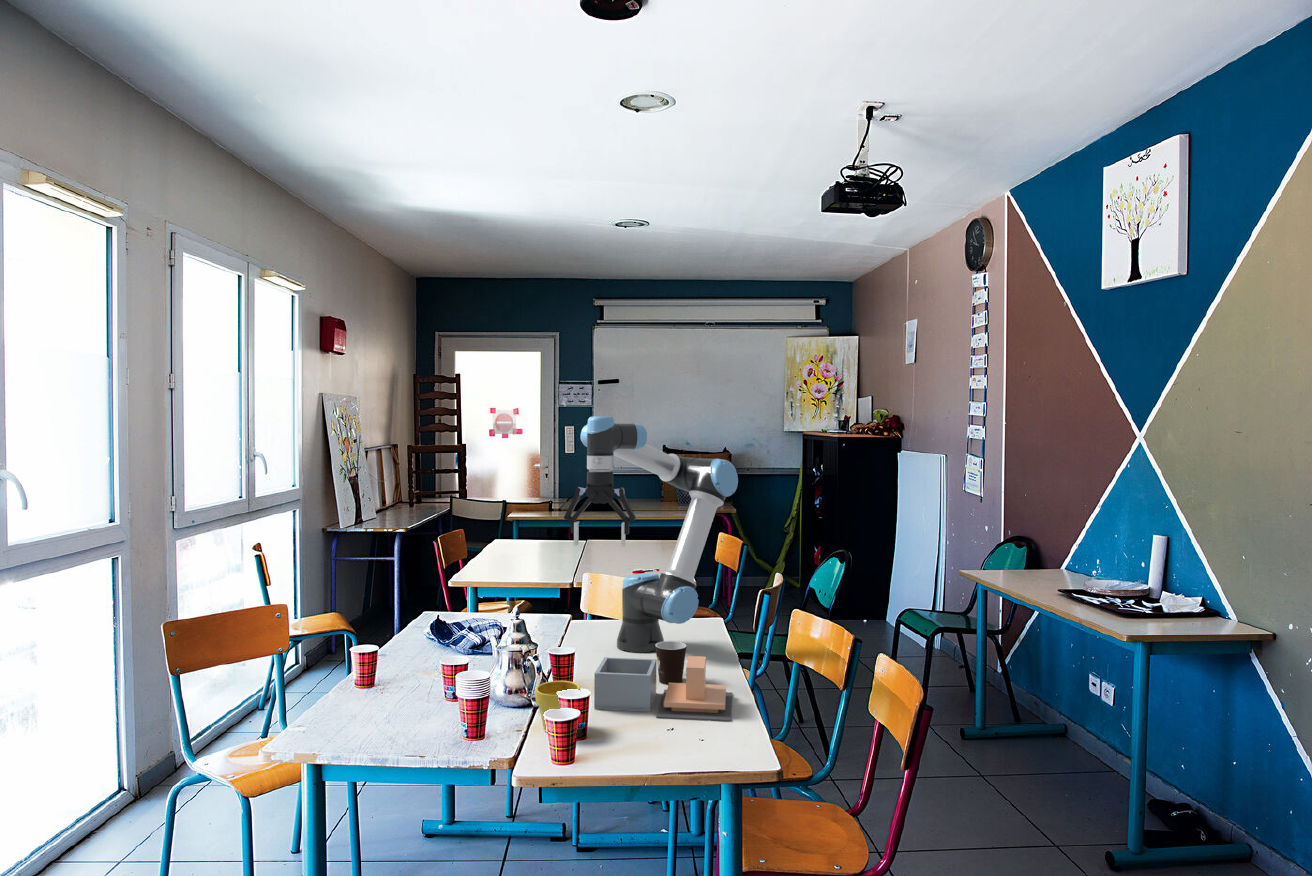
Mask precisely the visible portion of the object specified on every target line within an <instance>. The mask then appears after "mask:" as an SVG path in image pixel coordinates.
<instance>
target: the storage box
mask: <svg viewBox="0 0 1312 876" xmlns="http://www.w3.org/2000/svg"><path fill="white" fill-rule="evenodd" d="M593 680H594V685H593V686H594V687H593V688H594V689H593V692H594V697H593V698H594V701H593V702H594V703H593V704H594V708H593V709H594V710H602V711H604V710H605V711H606V710H607V711H623V710H626V712H646V713H647V712H649V713H650V712H651V710H652V708H653V704H654V701H655V698H656V696H657V658H656V659H655V658H634V657H633V658H631V657H630V658H629V657H605V656H604V658H603V659H602V660H601V662H600V664H599V665H598V667H597V668H596V671H595V672H594V679H593Z"/></svg>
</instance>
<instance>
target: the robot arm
mask: <svg viewBox="0 0 1312 876" xmlns="http://www.w3.org/2000/svg"><path fill="white" fill-rule="evenodd" d="M580 441H581V443H582V444H583V446H584V447H586V469H587V470H588V471H587V472H586V487H585V488H584V487H580V486H578V487H576V488H575V491H574V497H573V498H572V501H570V504H569V507H568V508H567V510H566V512H565V514H564V515H563V516H564V517H563V519H564V520H566V521H569V523H570V526H569V527H570V534H573V546H578V545H579V527H580V526H579V522H580V521H577V520H578V518H579V517H580V516H581V515H582V514H583V513H584V512H585V510H586V509H587V508H588V507H589V505H590V504H591V503H593V504H595V505H597V504H602V505H605V504H608V505H609V506H611V508H612V509H613V510H614V512H616V514H617V516H619V518H620V520H622V521H623V522H622V523H621V530H620V532H621V533H620V534H621V536H620V537H621V539H620V541H621V547H625V546H626V535H629V534H630V523H631V522H634V521H636V520H637V517H636V515H635V512H634V511H633V509H632V507H631V505H630V502H629V501H628V499H627V497H626V492H625V488H624V487H620V488H615V487H614V472H613V471H612V470H613V469H614V465H615V464H614V462H615V461H614V460H615V459H614V457H616V458H619V459H621V460H624V461H625V462H628V463H630V464H632V465H634V466H637V467H639V468H641V469H643V470H646V471H648V472H649V473H653V474H654V475H657V476H658V477H659V479H660V480H661V481H663V482H665V483H667V484H669V485H671V486H672V487H673V486H674V487H675V488H678V489H680V490H683V491H685V492H688V495H689V496H690V498H691V500H690V502H689V505H688V509H687V512H686V515H685V517H684V520H683V522H682V523H683V524H682V527H681V529H680V532H679V534H678V537H677V541H676V544H675V547H674V549H673V552H672V555H671V558H670V561H669V564H668V566H667V569H665V570H664V571H661V573H660V575H659V574H658V573H638V574H637V573H636V574H632V575H626V576H625V577H624V578H623V580H622V588H621V590H622V591H621V593H622V594H621V595H622V596H621V597H622V598H621V599H622V600H621V601H622V602H621V603H622V609H621V611H622V612H621V613H622V622H621V626H620V629H619V632H618V635H617V638H616V647H617V649H618V650H621V649H622V650H621V651H624V650H626V651H625V652H628V651H630V652H629V653H651V652H650V651H653V652H656V646H655V645H656V644H657V643H659V642H664V641H665V639H664V638H665V637H664V636H663V633H662V628H661V625H660V622H659V621H660V620H661V621H663V622H666V623H669V624H677V625H680V624H685V623H687V622H688V621H689V620H690V619H692V618H693V617H694V615H695V613H696V612H697V609H698V608H699V601H700V600H699V599H698V597H699V594H698V593H697V590H696V587H697V583H696V582H695V575H696V573H697V569H698V566H699V563H700V560H701V557H702V554H703V551H704V548H705V545H706V542H707V540H708V539H707V538H708V536H709V533H710V530H711V527H712V523H713V522H714V518H715V514H716V512H717V509H718V508H720V507H721V506H724V503H725V500H726V498H727V497H731V496H732V495H733V494H735V492H736V490H737V489H738V483H739V477H738V473H737V469H736V468H735V466H734V464H733V463H731V462H730V461H729V460H726V459H721V458H718V457H717V458H704V457H703V458H702V457H685V456H680V455H678V454H676V453H668V454H667V453H666V452H663V451H661V450H659V449H657V448H656V447H653V446H651V445H649V444H647V441H648V431H647V429H646V428H645V426H644V425H643V424H641V423H633V422H632V423H615V420H614V417H613V416H597V415H596V416H594V415H593V416H590V417H589V418H588V419H587V424H586V425H584V426H583V427H582V429H581V432H580ZM584 493H585V494H586V496H587V497H588V498H587V499H586V500H585V501H584V502H583V504H581V506H580V507H578V510H576V512H575V513H574V514H573V512H574V510H575V508H576V506H577V504H578V502H579V500H580V498H581V496H583V495H584ZM614 494H616V495H617V496H618V497H619V498H620V501H621V502H622V505H623V507H624V509H625V511H626V513H625V512H624V511H623V510H622V508H621V506H619V505H618V503H616V500H614V498H613V496H614ZM572 514H573V515H572ZM626 514H627V515H628V516H627V515H626Z"/></svg>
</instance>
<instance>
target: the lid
mask: <svg viewBox="0 0 1312 876" xmlns="http://www.w3.org/2000/svg"><path fill="white" fill-rule="evenodd" d="M706 657H707V656H699V655H698V656H697V655H696V656H694V655H688V656H687V660H686V661H687V662H686V666H685V682H682V683H669V684H668V686H667V688H666V690H667V692H666V696H665V699H664V707H672V711H686V712H709V713H718V709H720V710H725V700H726V692H727V684H708V683H707V682H706V680H707V679H706V677H707V676H706V674H707V673H706V672H707V666H706V663H707V662H706V661H707V658H706Z"/></svg>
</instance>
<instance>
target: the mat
mask: <svg viewBox="0 0 1312 876" xmlns="http://www.w3.org/2000/svg"><path fill="white" fill-rule="evenodd" d="M666 692H667V689H663V692H662V696H661V700H660V702H659V706H658V709H657V713H656V716H655V717H656V719H669V720H672V719H673V720H687V721H688V720H689V721H690V720H691V721H693V720H694V721H708V720H711V721H713V722H729V721H731V722H732V707H733V705H732V702H733V692H731V691H729V692H728V691H726V700H725V710H720V709H718V713H709V712H686V711H672V707H664V699H665V696H666ZM711 721H710V722H711Z"/></svg>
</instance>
